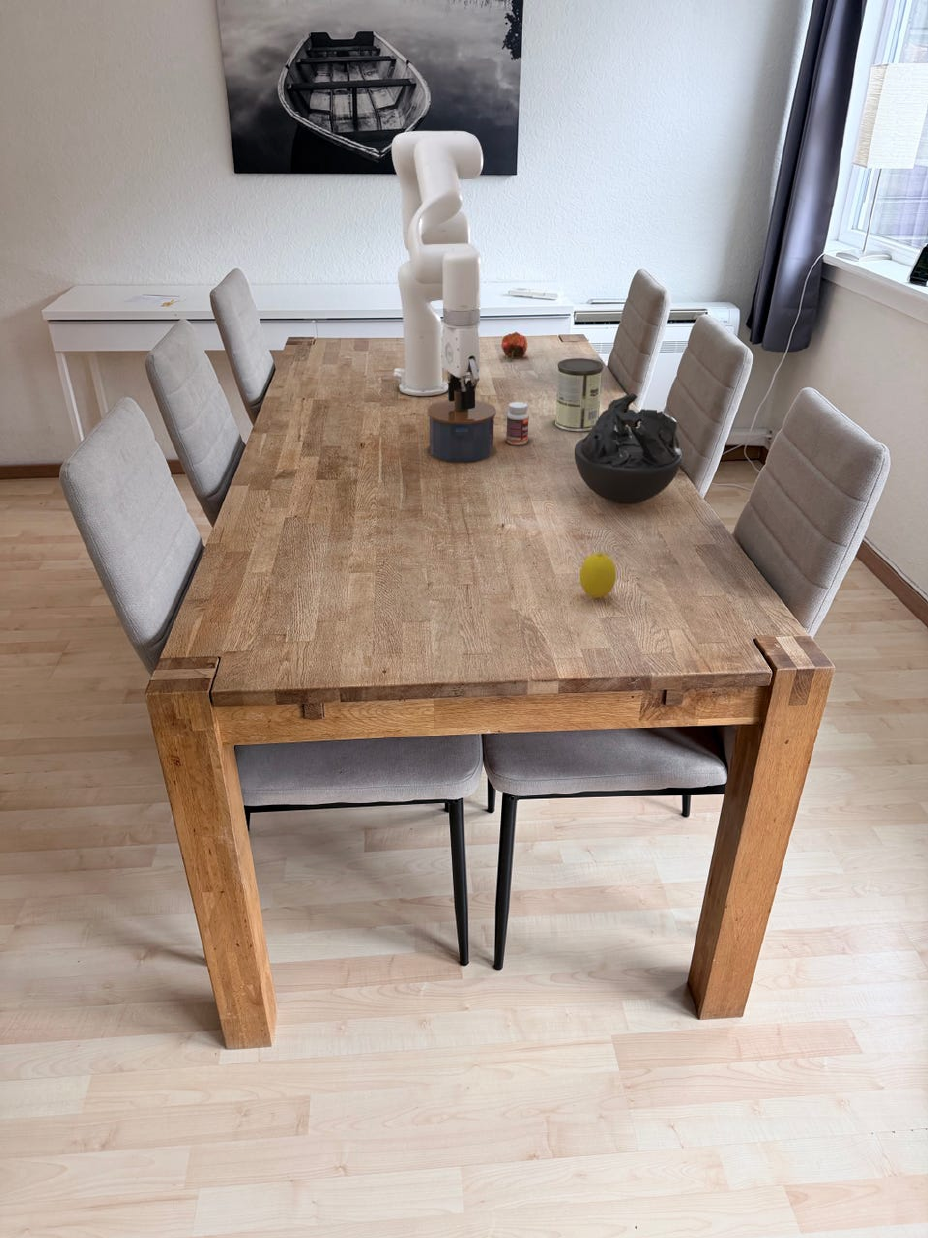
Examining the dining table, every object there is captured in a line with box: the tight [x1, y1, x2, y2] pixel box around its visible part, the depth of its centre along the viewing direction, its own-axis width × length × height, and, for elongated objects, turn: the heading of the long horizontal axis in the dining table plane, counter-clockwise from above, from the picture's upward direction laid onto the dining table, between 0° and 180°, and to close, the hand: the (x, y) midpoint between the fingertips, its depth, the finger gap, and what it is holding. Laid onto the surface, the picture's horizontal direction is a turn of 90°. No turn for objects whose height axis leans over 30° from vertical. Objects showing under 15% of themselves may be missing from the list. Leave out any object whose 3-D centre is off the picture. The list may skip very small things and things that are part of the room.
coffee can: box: [554, 357, 604, 432], centre depth 208 cm, size 10×10×14 cm
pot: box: [429, 416, 495, 463], centre depth 195 cm, size 14×19×8 cm
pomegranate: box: [500, 331, 528, 362], centre depth 257 cm, size 7×7×10 cm
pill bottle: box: [505, 401, 530, 446], centre depth 199 cm, size 5×5×8 cm
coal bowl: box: [574, 393, 683, 505], centre depth 170 cm, size 20×20×19 cm
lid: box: [426, 389, 497, 424], centre depth 191 cm, size 15×15×5 cm
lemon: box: [579, 552, 617, 599], centre depth 140 cm, size 6×6×8 cm
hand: (461, 403), depth 191 cm, fingers open, 5 cm apart
